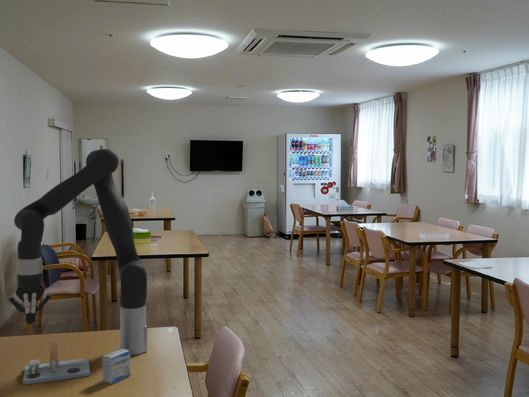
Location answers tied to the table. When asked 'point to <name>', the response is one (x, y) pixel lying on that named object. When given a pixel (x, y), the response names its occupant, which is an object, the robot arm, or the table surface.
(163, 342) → the table surface
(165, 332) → the table surface
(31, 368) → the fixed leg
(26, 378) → the bolt plate
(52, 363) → the sliding leg
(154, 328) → the table surface
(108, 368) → the medicine box
